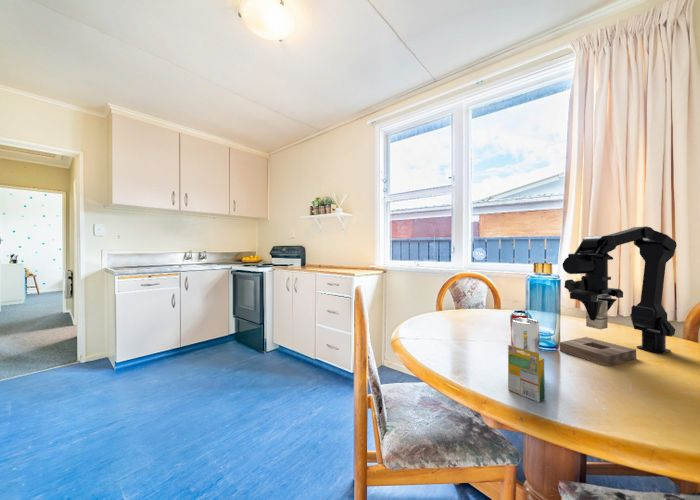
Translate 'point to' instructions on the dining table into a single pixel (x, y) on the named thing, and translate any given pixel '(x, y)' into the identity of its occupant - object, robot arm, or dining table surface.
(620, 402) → the dining table surface
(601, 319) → the maple peg
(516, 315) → the beverage can
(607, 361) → the walnut board
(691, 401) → the dining table surface
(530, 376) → the crayon box
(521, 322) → the white box
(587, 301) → the robot arm
